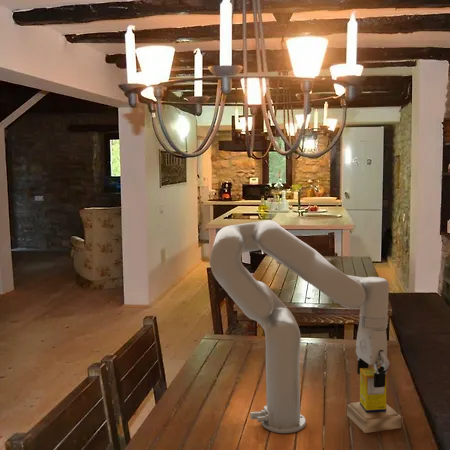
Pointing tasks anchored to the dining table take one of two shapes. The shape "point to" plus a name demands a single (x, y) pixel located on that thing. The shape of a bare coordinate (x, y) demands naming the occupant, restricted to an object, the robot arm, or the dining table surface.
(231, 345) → the dining table surface
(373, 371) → the supplement box
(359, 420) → the pedestal
